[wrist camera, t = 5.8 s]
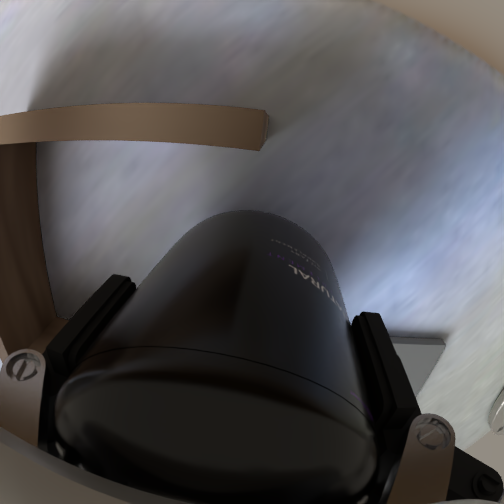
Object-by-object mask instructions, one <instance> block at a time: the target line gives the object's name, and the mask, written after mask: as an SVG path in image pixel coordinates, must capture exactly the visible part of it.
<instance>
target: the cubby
mask: <svg viewBox="0 0 504 504" xmlns="http://www.w3.org/2000/svg"><path fill="white" fill-rule="evenodd" d="M268 120H269V115H268V114H267V113H266V111H265V110H258V109H250V108H240V107H229V106H217V105H203V104H182V103H113V104H94V105H80V106H68V107H58V108H49V109H41V110H34V111H27V112H21V113H15V114H9V115H3V116H0V359H1V361H2V363H4V360H5V359H6V358H7V357H8V356H9V355H11V354H12V353H14V352H16V351H18V350H23V349H31V350H35V351H38V352H39V353H40V354H42V353H43V352H44V351H45V350H46V346H47V345H48V344H49V343H50V342H51V341H52V339H53V338H54V337H55V336H56V335H57V334H58V333H59V331H60V330H61V329H62V328H63V327H64V326H65V325H66V324H67V322H68V321H69V320H66V319H63V318H60V317H57V316H56V312H55V308H54V303H53V299H52V295H51V290H50V285H49V280H48V275H47V269H46V263H45V257H44V251H43V244H42V237H41V229H40V220H39V209H38V196H37V178H36V142H43V141H70V140H124V141H152V142H171V143H186V144H198V145H210V146H220V147H230V148H239V149H247V150H255V151H260V149H261V148H262V146H263V144H264V143H265V141H266V136H267V128H268Z"/></svg>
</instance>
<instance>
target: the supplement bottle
mask: <svg viewBox="0 0 504 504" xmlns="http://www.w3.org/2000/svg"><path fill="white" fill-rule="evenodd" d="M52 430H53V438H54V443H55V446H56V449H57V452H58V455H59V457H60V459H61V460H63V461H65V462H67V463H69V464H71V465H73V466H76V467H78V468H80V469H83V470H85V471H87V472H90V473H92V474H95V475H97V476H100V477H102V478H105V479H108V480H111V481H113V482H116V483H119V484H122V485H125V486H128V487H131V488H134V489H137V490H141V491H144V492H147V493H151V494H154V495H158V496H162V497H166V498H170V499H174V500H178V501H182V502H187V503H192V504H367V502H368V500H369V498H370V497H371V495H372V493H373V491H374V488H375V486H376V483H377V480H378V476H379V472H380V454H379V446H378V438H377V432H376V427H375V423H374V418H373V413H372V409H371V404H370V400H369V396H368V391H367V387H366V383H365V379H364V375H363V371H362V367H361V363H360V359H359V355H358V351H357V347H356V343H355V340H354V336H353V332H352V329H351V325H350V322H349V318H348V314H347V311H346V308H345V304H344V301H343V297H342V294H341V291H340V287H339V284H338V281H337V278H336V275H335V273H334V270H333V267H332V265H331V262H330V260H329V258H328V256H327V255H326V253H325V252H324V250H323V248H322V247H321V246H320V245H319V243H318V242H317V241H316V240H315V239H314V238H313V237H312V236H311V235H310V234H309V233H308V232H306V231H305V230H304V229H303V228H301V227H300V226H298V225H297V224H295V223H293V222H291V221H289V220H287V219H285V218H282V217H280V216H277V215H274V214H271V213H266V212H261V211H251V210H241V211H231V212H226V213H222V214H219V215H215V216H213V217H210V218H208V219H206V220H204V221H202V222H200V223H199V224H197V225H196V226H194V227H193V228H192V229H190V230H189V231H188V232H187V233H186V234H185V235H183V236H182V238H181V239H180V240H179V241H178V242H177V243H176V244H175V245H174V246H173V247H172V248H171V249H170V250H169V252H168V253H167V254H166V255H165V256H164V257H163V258H162V259H161V261H160V262H159V263H158V264H157V265H156V266H155V268H154V269H153V270H152V271H151V272H150V273H149V275H148V276H147V277H146V278H145V279H144V280H143V282H142V283H141V284H140V285H139V286H138V287H137V289H136V290H135V291H134V292H133V293H132V295H131V296H130V297H129V298H128V299H127V301H126V302H125V303H124V304H123V306H122V307H121V308H120V309H119V310H118V312H117V313H116V314H115V315H114V317H113V318H112V319H111V320H110V321H109V323H108V324H107V325H106V326H105V328H104V329H103V330H102V332H101V333H100V334H99V335H98V337H97V338H96V339H95V340H94V342H93V343H92V344H91V346H90V347H89V348H88V349H87V351H86V352H85V353H84V355H83V356H82V357H81V359H80V360H79V361H78V363H77V364H76V365H75V367H74V368H73V369H72V371H71V372H70V374H69V375H68V377H67V379H66V380H65V381H64V383H63V384H62V386H61V388H60V389H59V391H58V393H57V396H56V399H55V402H54V407H53V414H52Z"/></svg>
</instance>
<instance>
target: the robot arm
mask: <svg viewBox="0 0 504 504" xmlns="http://www.w3.org/2000/svg"><path fill="white" fill-rule="evenodd" d="M135 290H136V285H135V283H134V282H131V279H130V277H126V276H121V275H116V274H113V275H112V276H111V277H110V278H109V279H108V280H107V281H106V282H105V283H104V284H103V285H102V286H101V287H100V288H99V289H98V290H97V291H96V292H95V293H94V294H93V295H92V296H91V297H90V299H89V300H88V301H87V302H86V303H85V304H84V305H83V306H82V307H81V308H80V309H79V310H78V311H77V313H76V314H75V315H74V316H73V317H72V318H71V319H70V320H69V321H68V322H67V324H66V325H65V326H64V327H63V328H62V329H61V330H60V331H59V333H58V334H57V335H56V336H55V337H54V338H53V339H52V341H51V342H50V343H49V344H48V345H47V346H46V350H45V351H44V352H43V353H42V354H40V353H39V352H38V351H35V350H31V349H23V350H18V351H16V352H14V353H12V354H11V355H9V356H8V357H7V358H6V359H5V360H4V363H3V365H2V368H1V371H0V504H192V503H187V502H182V501H178V500H174V499H170V498H166V497H162V496H158V495H154V494H151V493H147V492H144V491H141V490H137V489H134V488H131V487H128V486H125V485H122V484H119V483H116V482H113V481H111V480H108V479H105V478H102V477H100V476H97V475H95V474H92V473H90V472H87V471H85V470H83V469H80V468H78V467H76V466H73V465H71V464H69V463H67V462H65V461H63V460H61V459H60V457H59V455H58V452H57V449H56V446H55V443H54V438H53V430H52V414H53V407H54V402H55V399H56V396H57V393H58V391H59V389H60V388H61V386H62V384H63V383H64V381H65V380H66V379H67V377H68V375H69V374H70V372H71V371H72V369H73V368H74V367H75V365H76V364H77V363H78V361H79V360H80V359H81V357H82V356H83V355H84V353H85V352H86V351H87V349H88V348H89V347H90V346H91V344H92V343H93V342H94V340H95V339H96V338H97V337H98V335H99V334H100V333H101V332H102V330H103V329H104V328H105V326H106V325H107V324H108V323H109V321H110V320H111V319H112V318H113V317H114V315H115V314H116V313H117V312H118V310H119V309H120V308H121V307H122V306H123V304H124V303H125V302H126V301H127V299H128V298H129V297H130V296H131V295H132V293H133V292H134V291H135ZM351 329H352V332H353V336H354V340H355V343H356V347H357V351H358V355H359V359H360V363H361V367H362V371H363V375H364V379H365V383H366V387H367V391H368V396H369V400H370V404H371V409H372V413H373V418H374V423H375V427H376V432H377V438H378V446H379V454H380V472H379V476H378V480H377V483H376V486H375V488H374V491H373V493H372V495H371V497H370V498H369V500H368V502H367V504H504V489H503V482H502V479H501V476H500V475H499V474H498V472H496V471H495V470H494V469H493V468H491V467H489V466H487V465H486V464H484V463H482V462H481V461H479V460H477V459H475V458H474V457H472V456H470V455H469V454H467V453H465V452H464V451H462V450H460V449H459V448H457V447H456V446H455V432H454V430H453V427H452V426H451V425H450V423H449V422H448V421H446V420H445V419H444V418H443V417H440V416H438V415H436V414H430V413H428V414H421V411H420V408H419V406H418V403H417V400H416V397H415V395H414V392H413V389H412V387H411V384H410V382H409V379H408V376H407V374H406V371H405V369H404V366H403V364H402V361H401V359H400V357H399V355H397V353H396V351H395V348H394V346H393V344H392V341H391V339H390V336H389V334H388V332H387V329H386V327H385V325H384V323H383V320H382V318H381V316H380V314H379V313H371V312H361V314H360V316H357V315H356V316H355V317H354V319H353V322H352V325H351ZM488 424H489V426H490V428H491V430H492V432H493V433H494V434H497V435H504V389H503V391H502V392H501V393H500V395H499V397H498V398H497V400H496V401H495V403H494V405H493V407H492V409H491V411H490V415H489V418H488Z"/></svg>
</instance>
